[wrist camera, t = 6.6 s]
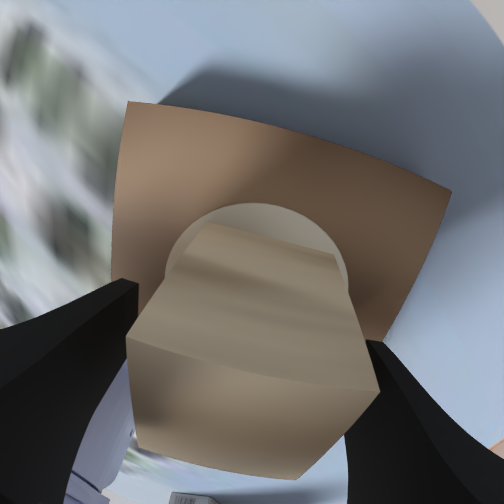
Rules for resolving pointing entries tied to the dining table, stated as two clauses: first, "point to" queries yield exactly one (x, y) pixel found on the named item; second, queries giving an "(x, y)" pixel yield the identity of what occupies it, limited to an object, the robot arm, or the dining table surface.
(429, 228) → the walnut base
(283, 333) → the maple block
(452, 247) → the dining table surface
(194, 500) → the coffee box
